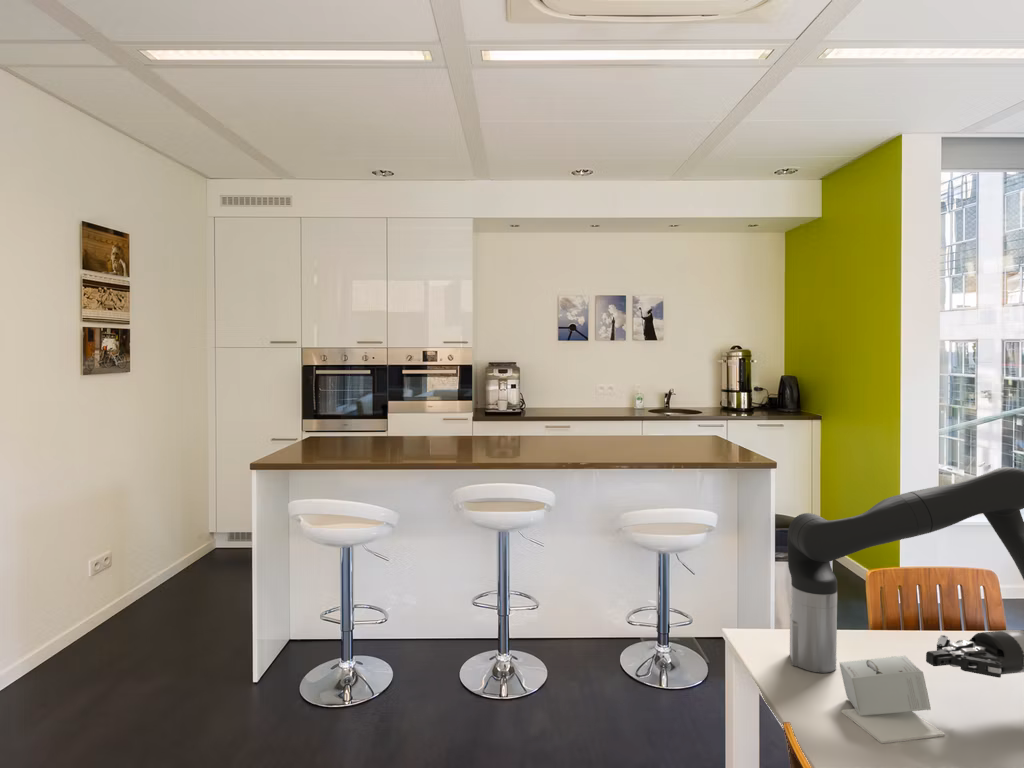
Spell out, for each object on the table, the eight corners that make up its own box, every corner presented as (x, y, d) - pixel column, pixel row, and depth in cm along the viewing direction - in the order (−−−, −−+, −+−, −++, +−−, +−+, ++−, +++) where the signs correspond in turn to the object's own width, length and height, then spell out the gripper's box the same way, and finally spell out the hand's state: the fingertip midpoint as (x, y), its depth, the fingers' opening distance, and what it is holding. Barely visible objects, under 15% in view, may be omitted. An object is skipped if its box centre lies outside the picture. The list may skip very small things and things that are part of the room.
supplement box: (923, 671, 114) (851, 678, 116) (932, 710, 113) (859, 717, 116) (905, 653, 121) (838, 661, 123) (913, 691, 121) (845, 697, 123)
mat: (881, 743, 108) (881, 741, 108) (841, 712, 118) (841, 710, 118) (944, 735, 110) (944, 733, 110) (900, 705, 120) (900, 703, 120)
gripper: (975, 618, 125) (901, 624, 122) (1042, 648, 112) (961, 655, 109) (975, 655, 125) (901, 662, 122) (1041, 688, 112) (960, 697, 109)
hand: (929, 659), depth 115 cm, fingers closed
